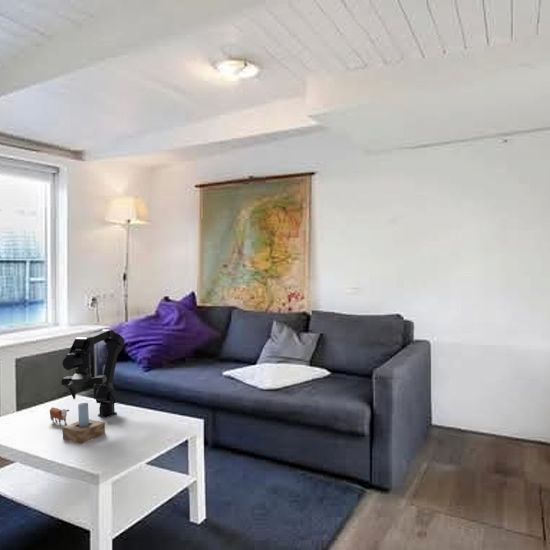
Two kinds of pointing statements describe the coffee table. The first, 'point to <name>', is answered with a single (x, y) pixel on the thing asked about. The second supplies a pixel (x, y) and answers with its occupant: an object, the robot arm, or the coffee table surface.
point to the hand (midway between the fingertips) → (84, 398)
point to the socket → (83, 431)
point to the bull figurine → (58, 415)
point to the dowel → (83, 415)
